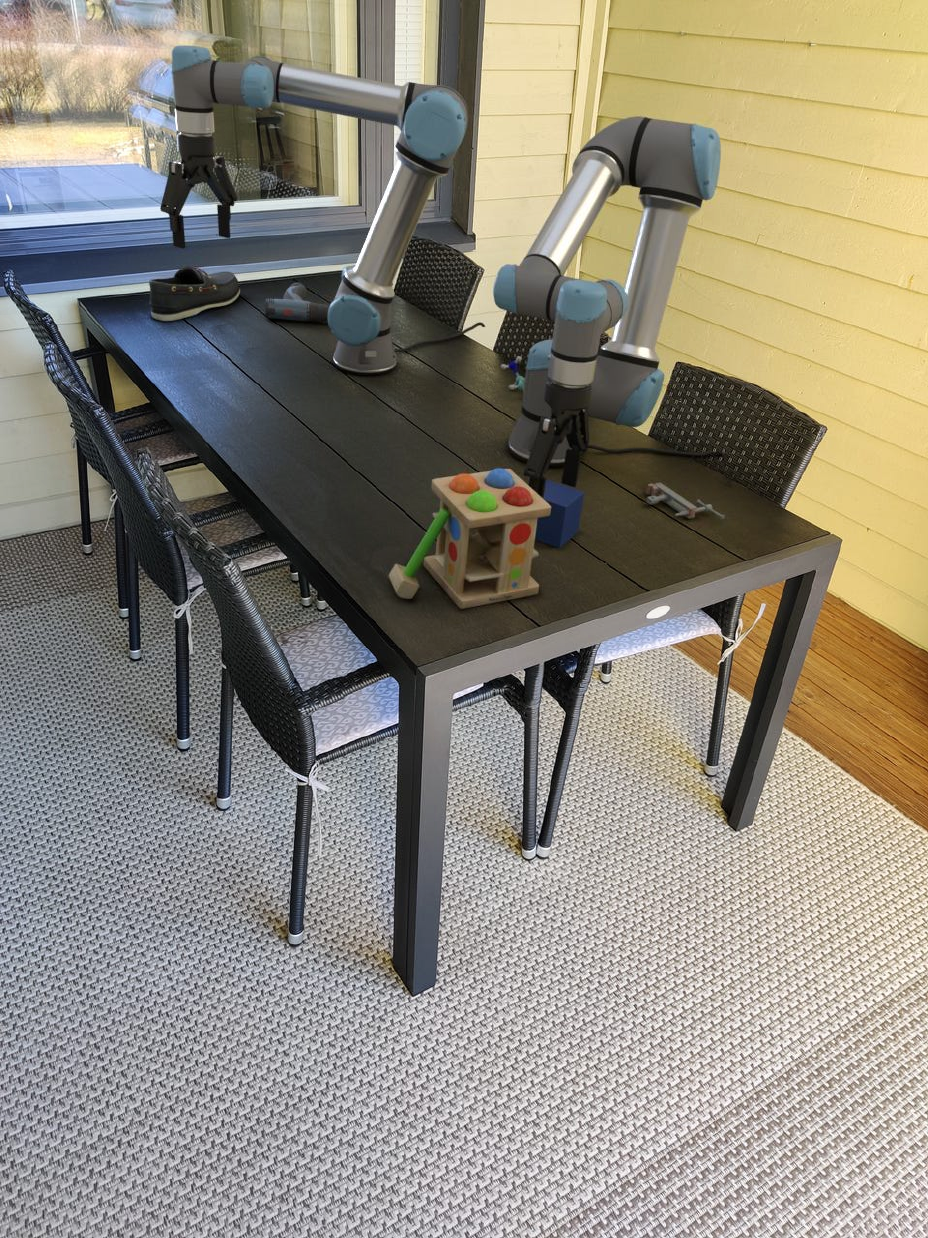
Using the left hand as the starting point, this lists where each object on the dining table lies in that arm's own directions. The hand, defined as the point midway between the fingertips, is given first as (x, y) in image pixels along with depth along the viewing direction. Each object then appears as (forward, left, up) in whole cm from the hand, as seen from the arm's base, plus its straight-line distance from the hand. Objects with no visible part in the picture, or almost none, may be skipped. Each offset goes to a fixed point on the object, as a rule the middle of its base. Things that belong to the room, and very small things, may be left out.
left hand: (202, 241), depth 212 cm
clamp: (-37, +108, -28) cm, 117 cm away
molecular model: (-54, +49, -28) cm, 78 cm away
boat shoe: (-21, -42, -28) cm, 55 cm away
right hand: (-9, +99, -21) cm, 102 cm away
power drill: (-43, -24, -28) cm, 57 cm away
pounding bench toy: (+16, +103, -28) cm, 108 cm away
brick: (-9, +99, -28) cm, 103 cm away
